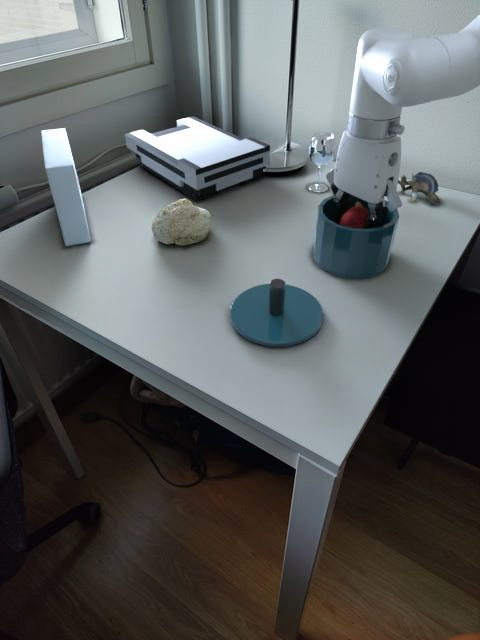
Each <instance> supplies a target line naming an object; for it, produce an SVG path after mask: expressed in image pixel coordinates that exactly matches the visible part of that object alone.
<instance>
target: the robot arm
mask: <svg viewBox="0 0 480 640" xmlns="http://www.w3.org/2000/svg"><path fill="white" fill-rule="evenodd" d="M352 80H353V81H352V87H351V94H350V95H351V96H350V103H349V110H348V118H347V125H346V126H347V127H346V128H345V129H344V131H343V133H342V136H341V139H340V142H339V146H338V149H337V154H336V158H335V164H334V168H332V169H331V170H330V171H328V173H326V175H325V178H326V180H327V182H328V184H329V186H330V190H331V193H332V194H333V195H334V196H335V197H334V201H335V203H337V205H336V212H335V221H334V222H335V223H337V224H338V225H339V223H340V220H341V217H342V215H343V214H344V213H345V212H346V211H347V210H348V209H350V208H351V199H349V197H350V195H353V196H356V197H358V198H360V199H362V200H364V201H367V202H368V208H369V216H370V217H369V218H367V219H366V222H365V228H364V229H371V228H377V227H380V223H381V218H382V216H384V215H386V214H388V213H389V212H391V211H393V210H395V209H397V210H398V209H400V208H401V207H403V201H402V200H401V197H400V195H399V193H398V191H397V190H398V185H399V184H398V180H399V178H400V170H401V163H402V161H401V160H402V137H401V135H403V134H404V131H405V126H404V125H402V124H401V118H402V117H401V115H402V110H403V108H409V107H414V106H418V105H423V104H428V103H431V102H435V101H440V100H445V99H450V98H455V97H459V96H461V95H464V94H467V93H469V92H471V91H472V90H474V89H476V88H478V87H479V86H480V14H478V15H477V16H476V17H475V18H474V19H472V21H470V22H469V23H468V24H467V25H466V26H465V27H464V28H462V29H461V30H460V31H458V32H454V33H453V32H452V33H446V34H438V35H432V36H426V37H421V38H415V37H414V35H413V33H412V32H410V31H408V30H406V29H401V28H395V27H377V28H372V29H369V30H366V31H364V32H363V33H362V35H361V36H360V37H359V40H358V43H357V50H356V56H355V64H354V73H353V79H352ZM385 198H386V199H385ZM385 200H387V201H389V204H388V205H386V206H385ZM376 204H377V207H378V210H377V208H376Z"/></svg>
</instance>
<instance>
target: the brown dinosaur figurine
mask: <svg viewBox="0 0 480 640" xmlns="http://www.w3.org/2000/svg"><path fill="white" fill-rule="evenodd" d="M409 173H410V175H411V179H412V180H408V178H407V177H406V175H404V174H402V176H401V178H400V179H398V184H397V185H400V188H401V191H400V193H401V194H404V193H405V192H406V191H410V190H411V195H412V201H411V202H412V203H414V202H415V201H416V199H417V197H418V193H422V194H424V195H425V197H426V198H428V199H429V202H431V204H433V205H435V206H437V205H438V206H439V205H440V204H441V200H440V197H438V195H437V194H436V193H438V192H439V183H438V180H437V179H436V178H435V176H434V175H433V174H431V173H427V172H423V171H420V172H417V173H415V174H414V173H413V171H412V169H410V170H409Z"/></svg>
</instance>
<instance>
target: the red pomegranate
mask: <svg viewBox="0 0 480 640" xmlns="http://www.w3.org/2000/svg"><path fill="white" fill-rule="evenodd" d="M369 217H370V216H369V212H368V210H367V209H366V208H364V207H363V206H362V205H361V203H360V202H356V205H355V206H354V207H352V208H350V209H348V210H347V211H346V212H345V213H344V214H343V215H342V217H341V220H340V223H339V225H342V226H346V227H350V228H359V229H364V228H365V222H366V219H367V218H369Z"/></svg>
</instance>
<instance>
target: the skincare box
mask: <svg viewBox="0 0 480 640" xmlns="http://www.w3.org/2000/svg"><path fill="white" fill-rule="evenodd" d="M40 135H41V145H42V153H43V161H44V169H45V173H46V177H47V181H48V185H49V188H50V192H51V196H52V200H53V203H54V206H55V210H56V214H57V218H58V222H59V225H60V229H61V233H62V238H63V241H64V245H65V247H70V246H76V245H82V244H88V243H90V242H92V240H91V235H90V230H89V223H88V219H87V214H86V209H85V204H84V200H83V196H82V191H81V186H80V183H79V182H80V181H79V177H78V173H77V170H76V165H75V161H74V158H73V153H72V148H71V145H70V141H69V138H68V134H67V130H66V127H63V128H62V127H61V128H53V129H52V128H51V129H42V130H40Z"/></svg>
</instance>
